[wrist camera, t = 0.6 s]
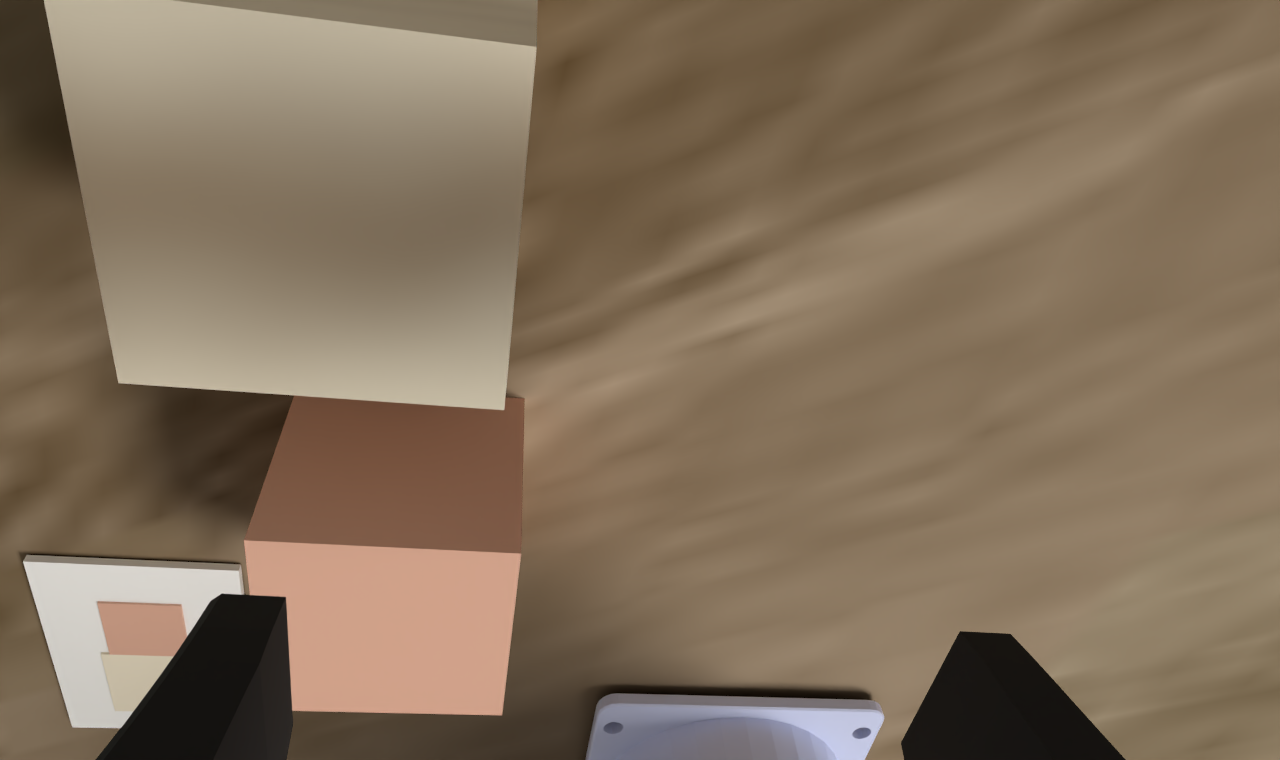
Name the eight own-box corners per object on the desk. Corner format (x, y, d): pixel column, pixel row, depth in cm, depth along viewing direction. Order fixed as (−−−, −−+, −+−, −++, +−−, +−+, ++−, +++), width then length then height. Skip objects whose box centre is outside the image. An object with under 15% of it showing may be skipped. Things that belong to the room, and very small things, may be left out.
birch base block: (512, 266, 18) (504, 410, 15) (206, 237, 17) (117, 382, 14) (537, -40, 15) (536, 46, 12) (168, -93, 14) (40, -17, 11)
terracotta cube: (508, 549, 23) (502, 715, 19) (308, 539, 22) (262, 709, 18) (524, 396, 20) (521, 553, 16) (299, 379, 19) (243, 540, 16)
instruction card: (259, 724, 25) (257, 732, 25) (75, 720, 25) (71, 729, 24) (240, 564, 22) (237, 572, 22) (27, 554, 21) (21, 563, 21)
